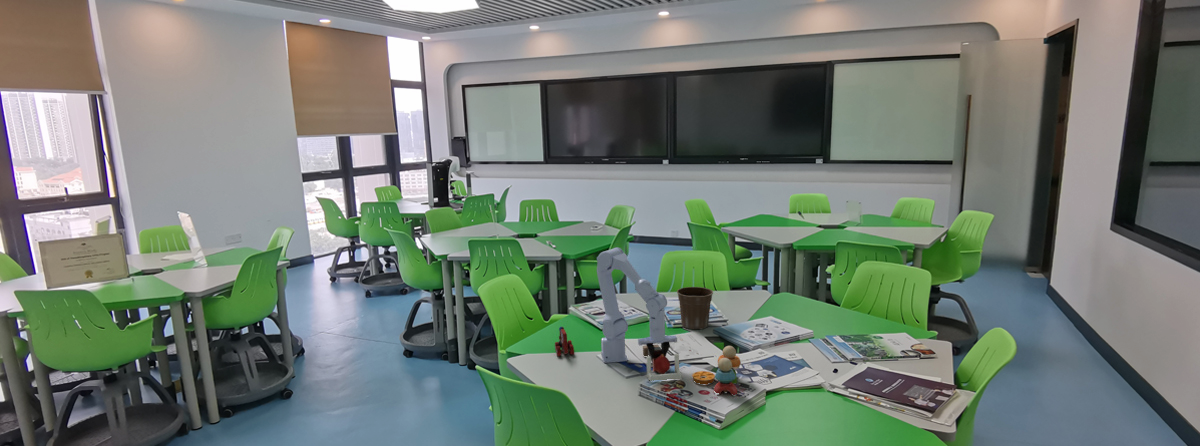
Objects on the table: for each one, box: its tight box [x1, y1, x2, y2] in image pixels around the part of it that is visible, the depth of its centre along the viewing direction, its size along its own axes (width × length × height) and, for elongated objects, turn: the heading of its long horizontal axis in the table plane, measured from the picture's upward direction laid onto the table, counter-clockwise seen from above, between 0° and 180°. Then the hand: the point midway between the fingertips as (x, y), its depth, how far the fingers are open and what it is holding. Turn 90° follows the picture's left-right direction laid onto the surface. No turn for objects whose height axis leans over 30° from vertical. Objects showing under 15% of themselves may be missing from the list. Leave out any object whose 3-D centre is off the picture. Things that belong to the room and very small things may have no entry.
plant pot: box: [676, 286, 714, 330], centre depth 268 cm, size 16×16×16 cm
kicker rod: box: [648, 346, 662, 372], centre depth 228 cm, size 5×19×7 cm, turn 7°
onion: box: [654, 354, 671, 374], centre depth 216 cm, size 6×6×8 cm
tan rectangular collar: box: [642, 344, 660, 357], centre depth 235 cm, size 6×2×4 cm, turn 97°
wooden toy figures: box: [691, 345, 742, 396], centre depth 205 cm, size 18×17×12 cm
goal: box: [645, 353, 682, 382], centre depth 213 cm, size 12×5×8 cm, turn 97°
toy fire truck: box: [554, 326, 575, 357], centre depth 241 cm, size 7×12×10 cm, turn 11°
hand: (658, 361), depth 222 cm, fingers closed on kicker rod, 3 cm apart
